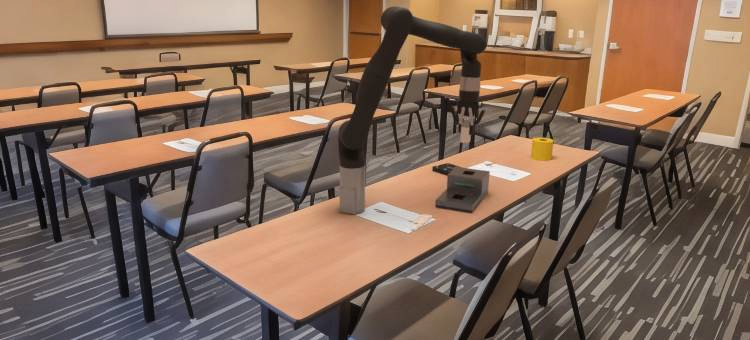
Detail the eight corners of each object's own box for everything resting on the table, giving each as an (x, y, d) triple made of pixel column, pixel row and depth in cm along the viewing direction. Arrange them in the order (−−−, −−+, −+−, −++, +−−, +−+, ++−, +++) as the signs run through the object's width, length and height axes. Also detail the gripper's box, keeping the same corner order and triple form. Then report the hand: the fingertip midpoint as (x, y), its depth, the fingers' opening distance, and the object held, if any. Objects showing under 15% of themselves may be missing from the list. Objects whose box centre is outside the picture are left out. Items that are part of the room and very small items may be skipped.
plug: (467, 143, 207) (469, 122, 205) (460, 142, 208) (461, 121, 206) (470, 141, 211) (472, 120, 208) (462, 140, 212) (464, 119, 209)
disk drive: (431, 172, 251) (455, 179, 240) (431, 166, 251) (456, 173, 240) (447, 168, 258) (471, 175, 247) (447, 162, 257) (471, 169, 246)
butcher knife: (401, 229, 187) (401, 226, 187) (420, 215, 199) (420, 212, 199) (415, 232, 184) (415, 229, 184) (433, 218, 197) (433, 215, 197)
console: (471, 213, 201) (473, 190, 198) (435, 207, 206) (436, 184, 204) (488, 192, 224) (489, 171, 221) (454, 187, 229) (456, 166, 226)
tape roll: (554, 161, 270) (556, 142, 267) (533, 160, 270) (535, 142, 267) (548, 155, 279) (550, 137, 277) (528, 155, 280) (530, 137, 277)
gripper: (448, 88, 203) (445, 133, 208) (486, 91, 198) (481, 138, 203) (454, 86, 209) (450, 130, 214) (490, 89, 204) (486, 134, 209)
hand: (465, 133), depth 208 cm, fingers closed on plug, 3 cm apart
